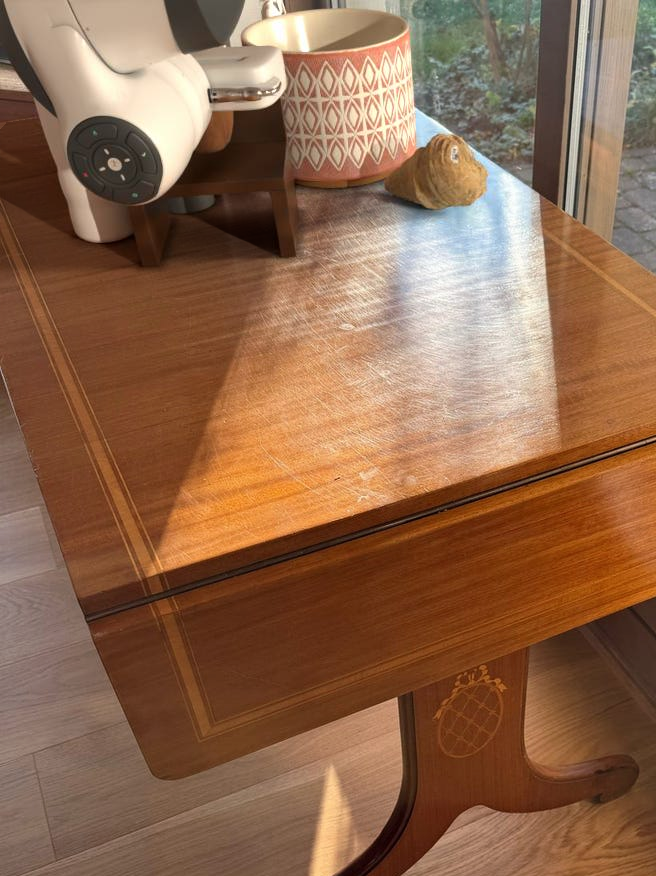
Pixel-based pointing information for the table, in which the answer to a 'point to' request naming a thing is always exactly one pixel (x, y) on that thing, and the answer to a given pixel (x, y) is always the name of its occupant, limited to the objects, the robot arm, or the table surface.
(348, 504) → the table surface
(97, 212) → the water bottle
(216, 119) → the wooden figurine
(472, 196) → the seashell
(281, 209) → the miniature wooden bench
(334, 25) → the planter
